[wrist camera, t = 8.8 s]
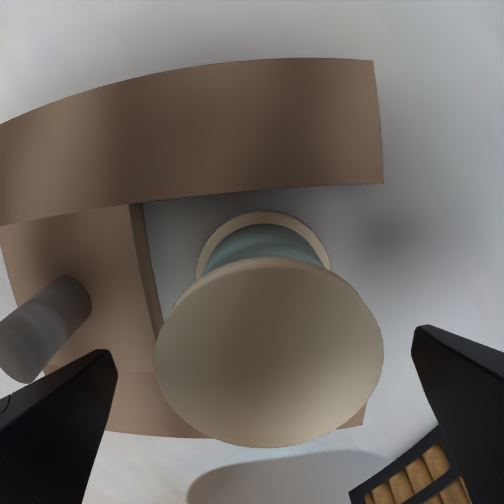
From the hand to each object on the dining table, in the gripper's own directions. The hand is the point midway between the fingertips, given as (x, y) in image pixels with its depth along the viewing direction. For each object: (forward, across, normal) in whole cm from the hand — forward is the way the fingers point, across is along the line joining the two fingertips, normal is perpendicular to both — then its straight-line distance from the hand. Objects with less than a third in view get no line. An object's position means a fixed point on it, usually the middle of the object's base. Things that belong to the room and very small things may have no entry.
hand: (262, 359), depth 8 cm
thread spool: (+6, 0, 0) cm, 6 cm away
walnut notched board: (+6, +4, 0) cm, 7 cm away
